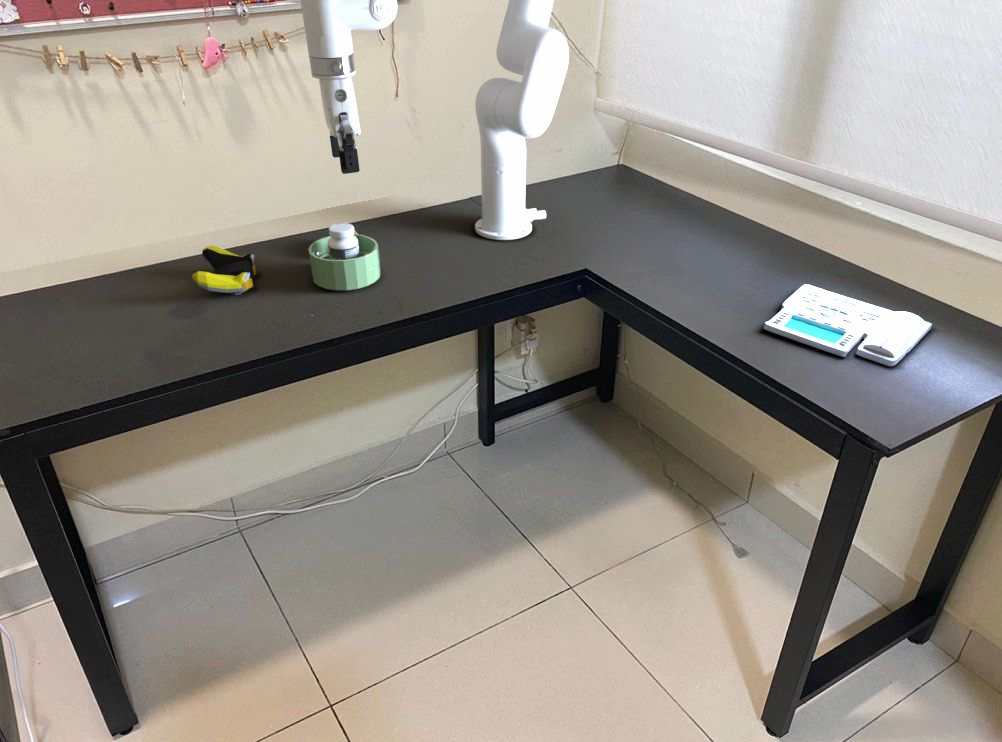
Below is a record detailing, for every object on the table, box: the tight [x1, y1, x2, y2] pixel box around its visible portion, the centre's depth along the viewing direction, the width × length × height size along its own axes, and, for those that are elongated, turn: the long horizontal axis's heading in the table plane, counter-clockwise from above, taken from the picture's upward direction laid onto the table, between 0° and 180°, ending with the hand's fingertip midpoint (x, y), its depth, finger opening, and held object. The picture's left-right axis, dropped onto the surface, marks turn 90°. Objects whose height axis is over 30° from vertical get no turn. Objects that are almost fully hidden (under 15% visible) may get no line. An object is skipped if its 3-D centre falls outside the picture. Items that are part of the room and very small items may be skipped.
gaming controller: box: [191, 245, 257, 296], centre depth 152 cm, size 15×6×10 cm
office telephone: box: [763, 283, 933, 367], centre depth 139 cm, size 23×3×20 cm
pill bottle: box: [328, 222, 360, 260], centre depth 153 cm, size 6×6×10 cm
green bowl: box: [307, 233, 381, 291], centre depth 154 cm, size 13×13×6 cm
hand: (345, 164), depth 147 cm, fingers open, 9 cm apart
